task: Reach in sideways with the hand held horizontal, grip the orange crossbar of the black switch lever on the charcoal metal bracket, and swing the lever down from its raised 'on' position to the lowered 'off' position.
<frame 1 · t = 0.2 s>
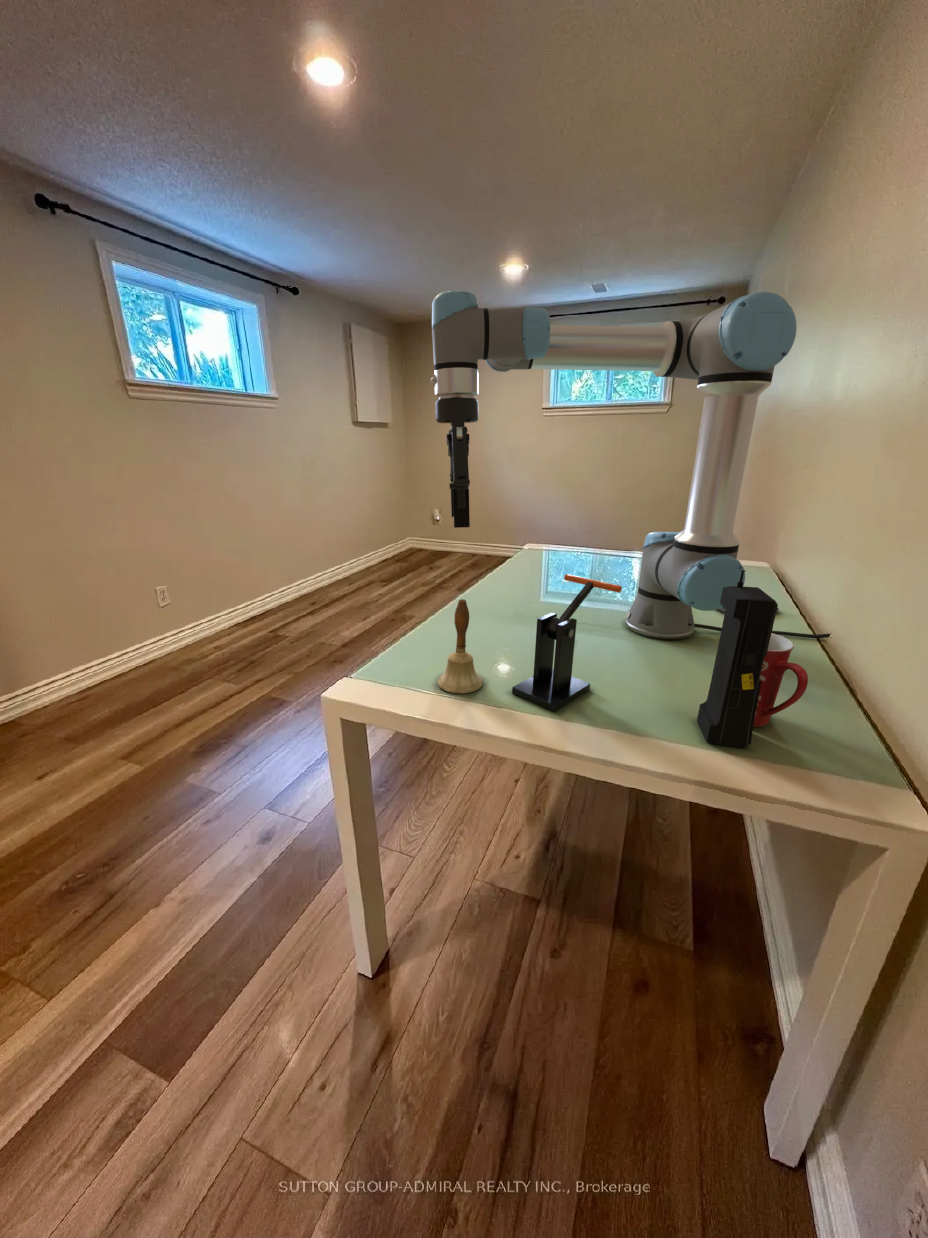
hand: (460, 521, 92), 27 cm above the table, tool pointing down, fingers open, 13 cm apart
hand bell: (460, 684, 90), on the table
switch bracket: (551, 691, 87), on the table
mug: (751, 722, 79), on the table
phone: (744, 610, 130), on the table
portable radio: (723, 737, 74), on the table
switch lever: (573, 606, 85), point 15 cm above the table, hinge at 30.0°
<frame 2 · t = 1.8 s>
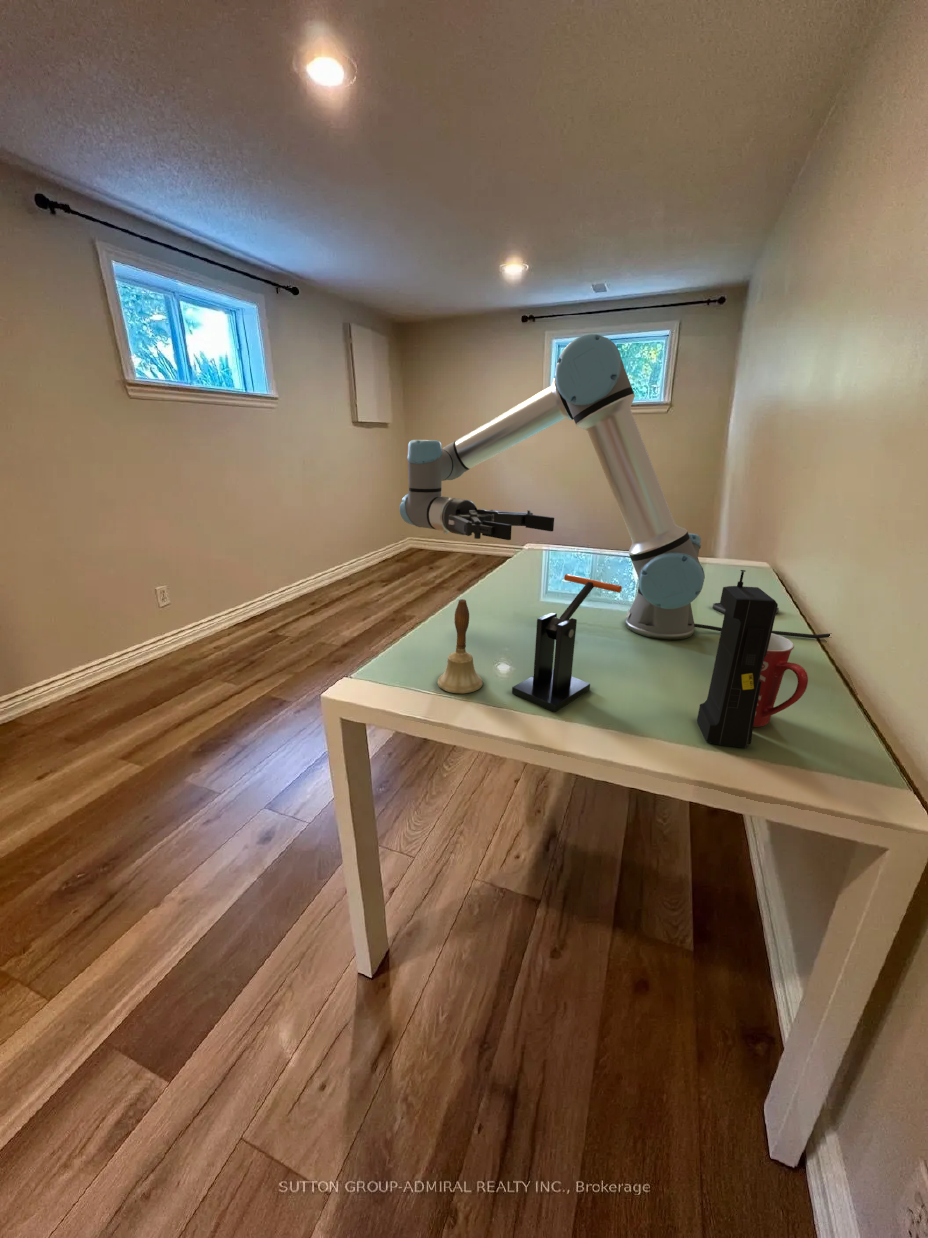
hand: (532, 528, 94), 26 cm above the table, tool horizontal, fingers open, 13 cm apart
nothing on the table moved.
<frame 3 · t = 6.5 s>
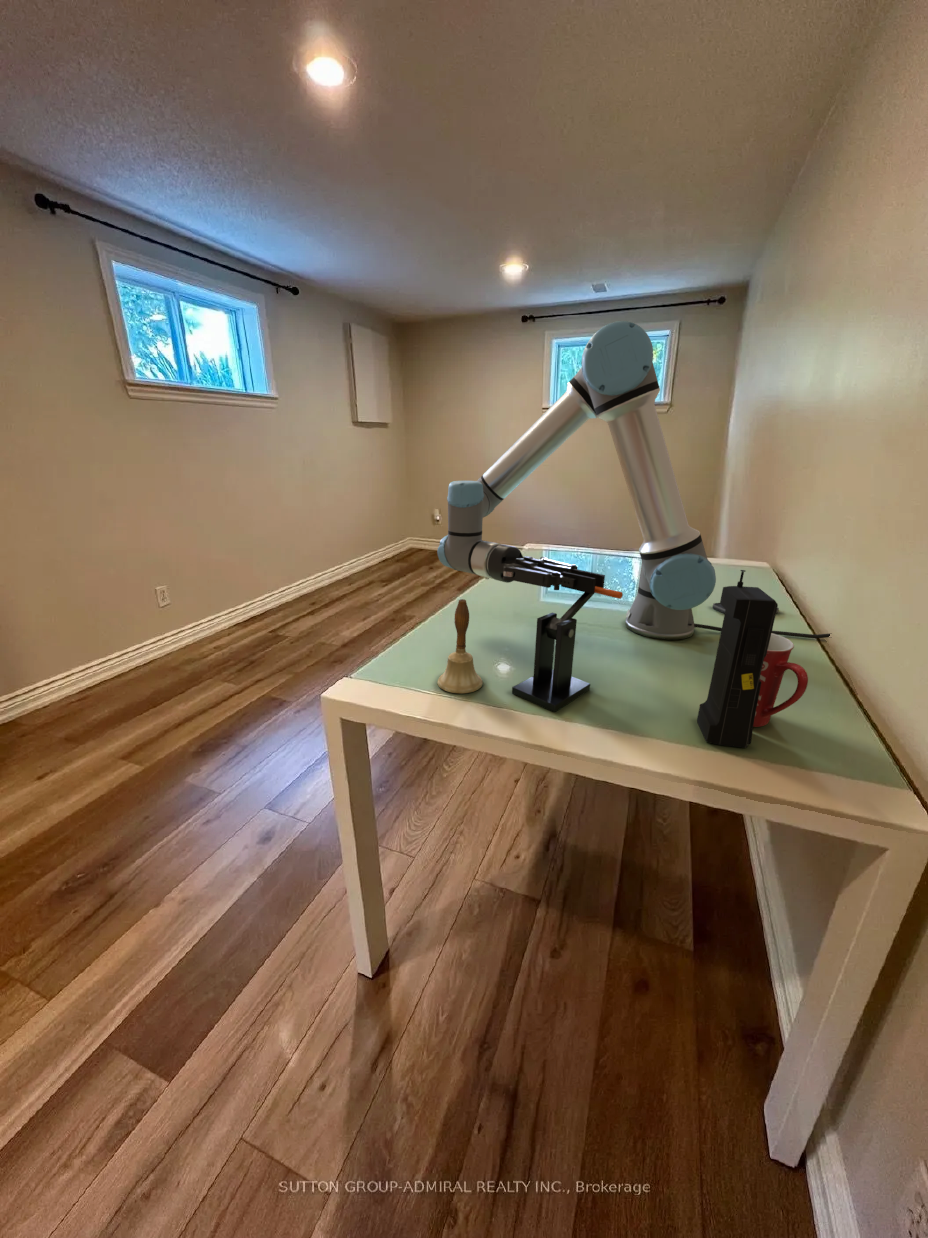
hand: (598, 584, 87), 18 cm above the table, tool horizontal, fingers closed on switch lever, 2 cm apart
switch lever: (574, 609, 85), point 14 cm above the table, hinge at 23.3°, touching gripper
everything else where it was.
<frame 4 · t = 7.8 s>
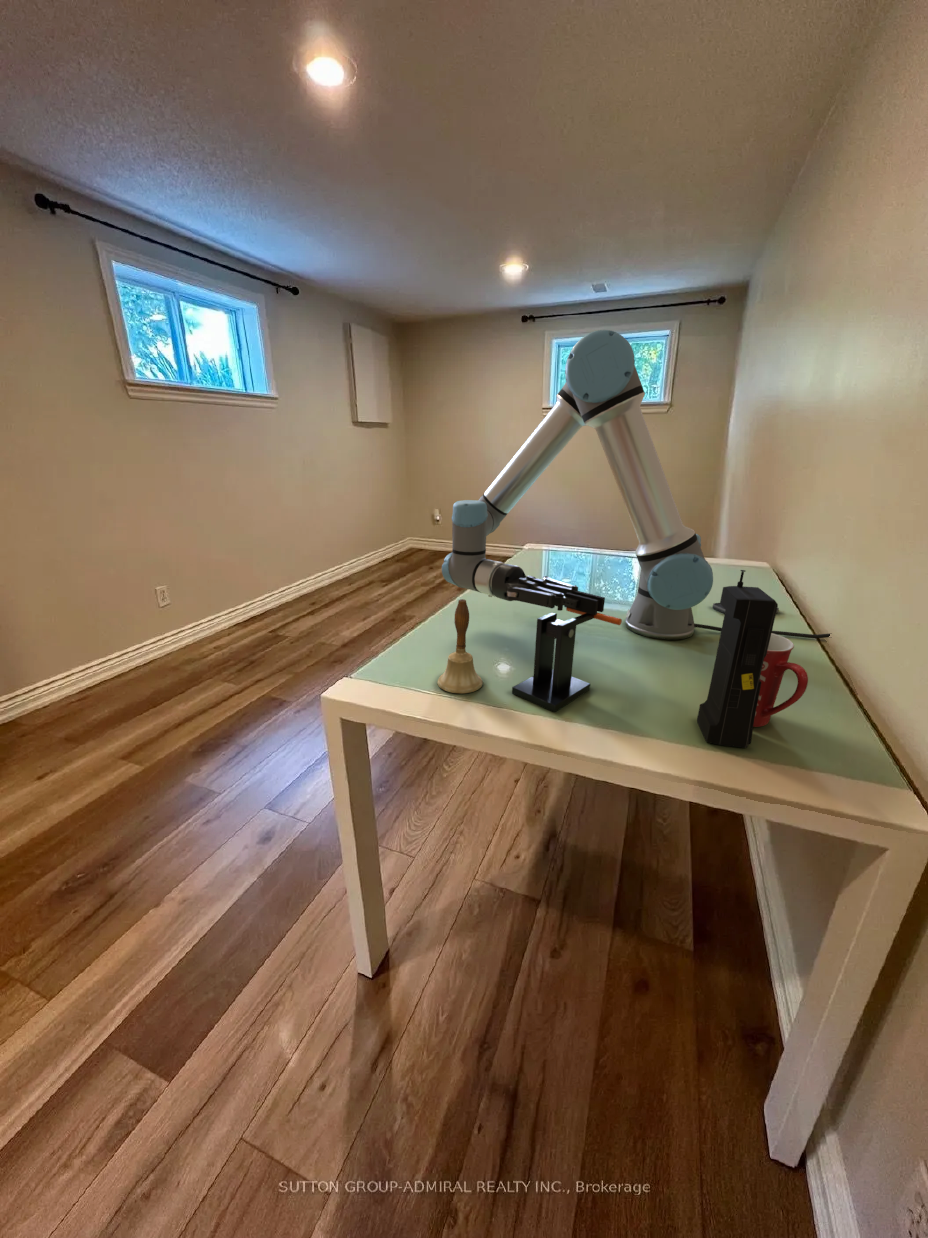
hand: (599, 606, 89), 14 cm above the table, tool horizontal, fingers closed
switch lever: (574, 621, 87), point 12 cm above the table, hinge at -2.1°, touching gripper
everything else where it was.
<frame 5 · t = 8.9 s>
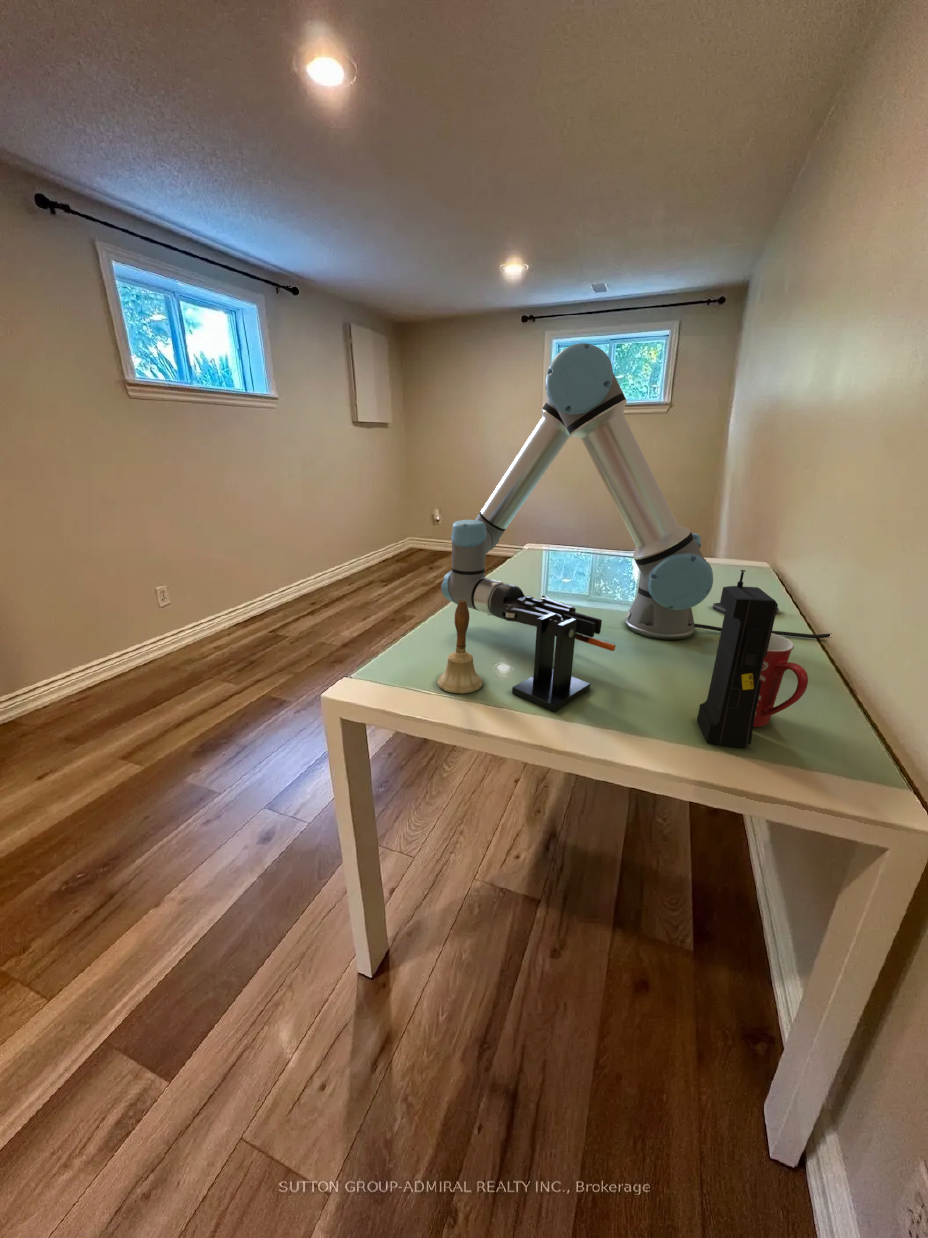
hand: (596, 628, 91), 9 cm above the table, tool horizontal, fingers closed
switch lever: (571, 634, 87), point 10 cm above the table, hinge at -25.4°, touching gripper
everything else where it was.
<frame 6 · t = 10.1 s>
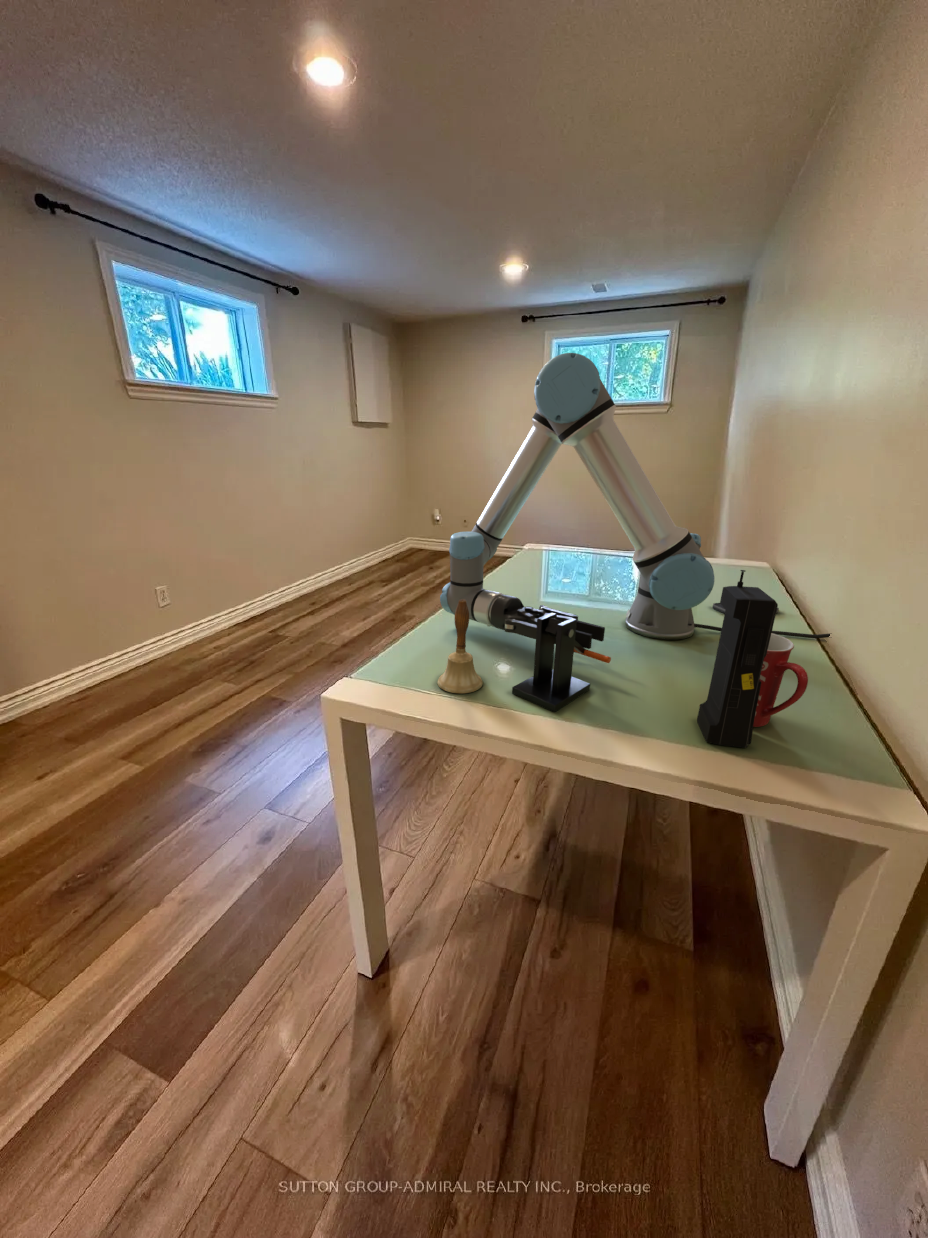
hand: (596, 638, 92), 7 cm above the table, tool horizontal, fingers open, 4 cm apart
switch lever: (569, 640, 87), point 9 cm above the table, hinge at -36.7°, touching gripper
everything else where it was.
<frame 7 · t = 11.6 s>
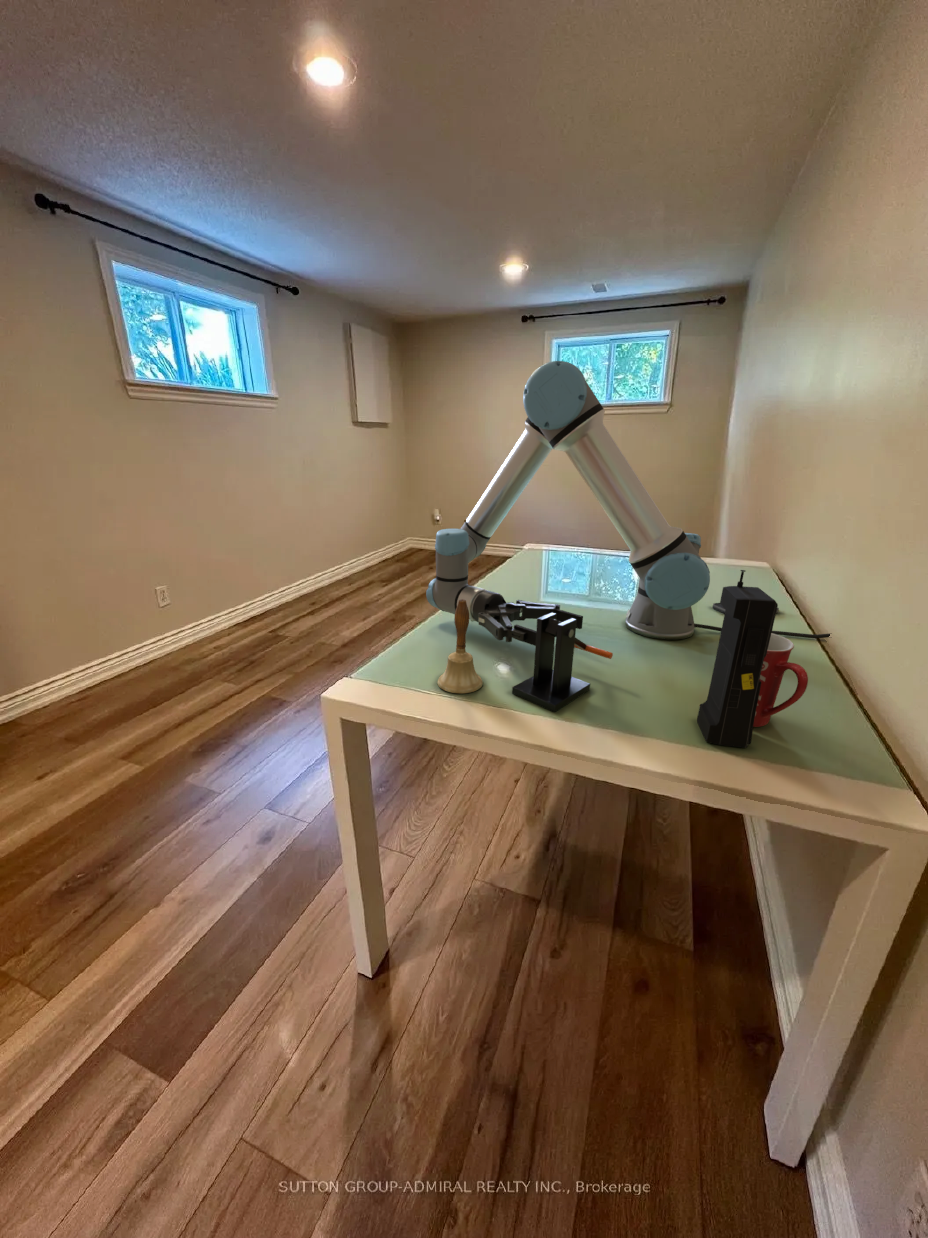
hand: (563, 631, 95), 7 cm above the table, tool horizontal, fingers open, 13 cm apart
switch lever: (570, 637, 87), point 9 cm above the table, hinge at -32.5°
everything else where it was.
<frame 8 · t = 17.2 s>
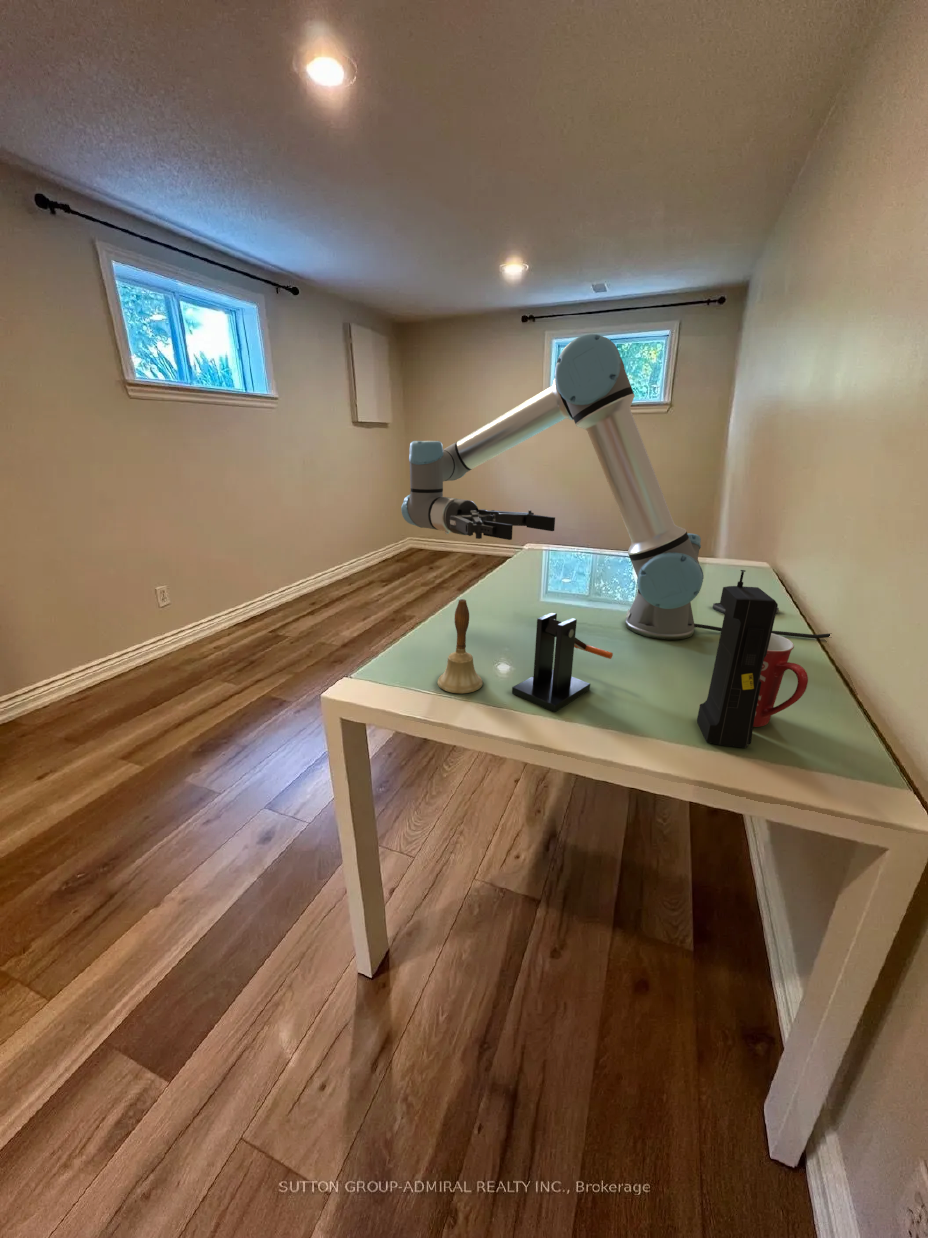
hand: (533, 528, 94), 26 cm above the table, tool horizontal, fingers open, 13 cm apart
nothing on the table moved.
at the end: switch lever at -32° (first picture: +30°); the gripper is holding nothing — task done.
